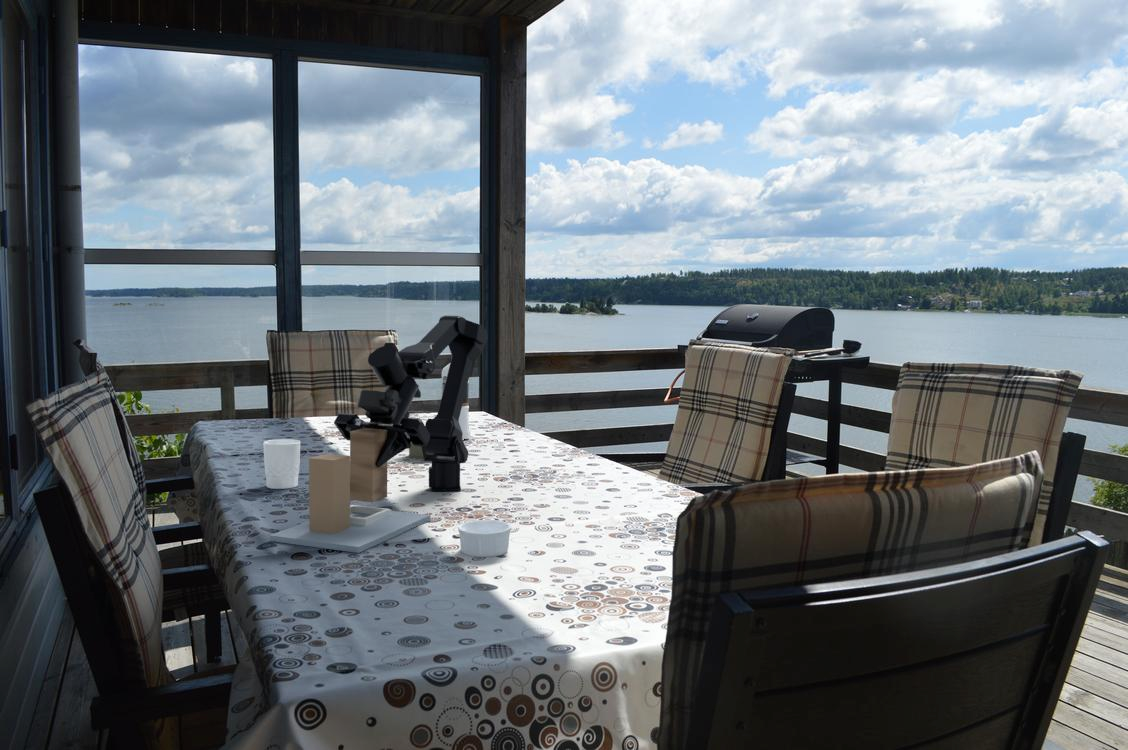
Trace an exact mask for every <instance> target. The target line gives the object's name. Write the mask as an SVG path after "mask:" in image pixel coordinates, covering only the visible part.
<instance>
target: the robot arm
mask: <svg viewBox="0 0 1128 750" xmlns="http://www.w3.org/2000/svg"><path fill="white" fill-rule="evenodd" d="M487 342H488V331H487V329H485V327H484V325H483V324H480V323H478V322H477V323H476V322H474V321H471V320H469V319H466V318H465V317H462V316H460V315H443V316H441V317H440V318H439V320H438V322H437V323H436V325H434V326H433V327H432V328H431V329H430V331H428V332H427V334H426V335H425V336H424V337H422V338H421V339H420V341H419V342H417V343H416V344H412V345H409V346H406V347H404V348H402V349H401V350H398V347H397V345H396V344H395V342H385V343H384V345H383V346H381V347H378V348H376V349H375V350H374V351H373V352H371V353H370V354H369V355H368V357H367V363H368V365H369V366H370V368H371V370H372V371H373V373H374V374H375V376H376V378H377V380H378V381H379V384H380V385H382V386H386V388H385V390H384V391H381V390H366V389H362V390H361V391H360V395H359V398H358V403H357V408H360V409H363V410H365V414H364V415H365V417H366V418H367V419H369V421H365V420H364V419H361V418H360V417H359V415H358V413H355V414H354V413H345V412H341V413H338V415H337V416H336V418H335V419H334V422H333V424H334V426H335V427H336V429H337V430H338V431H339V433H340V434H341V436H342V437H343V439H345V440H346V441H349V442H350V431H355V430H359V429H363V428H371V429H381V430H387V438H386V441H385V443H384V445H383V447H382V449H381V451H380V453H379V456H378V458H377V461H376V466H377V467H380V466H382V465H383V464H384V463H386V462H387V463H388V461H390V460H391V459H393V458H394V457H396V456H397V455H399V454H400V453H402V452H403V451H405V450H406V449H408V450H409V448H411V444H410V443H411V442H412V444H413V445H414V446H421V447H422V452H423V457H424V460H423V461H424V462H431V466H429V467H428V487H429V488H430V491H431V492H448V491H449V492H453V491H455V492H456V491H457V492H459V491H461V490H462V488H461V464H467V462H468V458H469V451H468V449H467V446H466V445H465V443H464V440H462V435H463V433H462V430H461V427H460V424H459V417H460V413H461V408H462V404H463V400H464V396H465V392H466V388H467V384H468V380H469V381H470V375H471V371H472V367H473V363H474V362H475V361H476V360H477V359H479V358H480V357H481V355H482V354H483V353H484V349H485V347H486V344H487ZM447 347H448V349H449V351H450V354H451V360H450V367H449V371H448V375H447V379H446V382H445V386H444V390H443V394H442V393H441V399H440V402H439V407H438V410H437V414H436V415H435V416H434V417H433V418H427V420H426V421H425V423H424V422H423V420H422V418H418V417H417V418H415V417H410V412H409V408H410V406H411V404H412V402H413V400H414V398H417V399H420V398H421V397H422V394H421V390H420V386H419V384H418V383H417V381H416V380H427V379H429V378H430V377H431V375H432V374H433V373H434V370H435V369H436V367H437V363H436V359H437V358H438V357H440V355H441V354H442V353H443V352H444V350H445V349H446V348H447Z"/></svg>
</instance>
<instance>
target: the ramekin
mask: <svg viewBox="0 0 1128 750" xmlns="http://www.w3.org/2000/svg"><path fill="white" fill-rule="evenodd" d="M457 529H458V532H459V543H460V544H459V546H460V551H461V552H462V554H464V555H466V556H470V557H473V558H474V557H475V558H476V557H477V558H493V557H498V556H502V555H505V554H506V553H507V552H508V550H509V546H510V545H509V544H510V533H511V530H512V526H511V524H510V523H508V522H505V521H502V520H497V519H496V520H494V519H477V520H476V519H475V520H470V521H466V522H462V523H461V524H459V525H458V527H457Z"/></svg>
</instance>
